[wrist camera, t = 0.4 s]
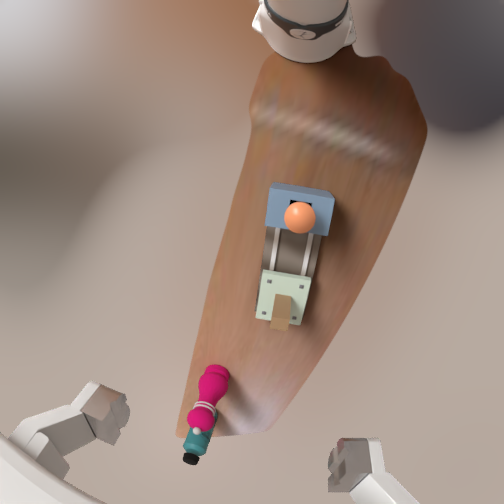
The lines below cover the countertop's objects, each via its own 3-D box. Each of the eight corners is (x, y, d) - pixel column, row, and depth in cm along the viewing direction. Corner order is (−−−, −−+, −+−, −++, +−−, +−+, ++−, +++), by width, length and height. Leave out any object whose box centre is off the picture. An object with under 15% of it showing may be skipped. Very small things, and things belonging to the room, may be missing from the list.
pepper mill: (224, 361, 66) (202, 424, 48) (235, 380, 68) (218, 442, 50) (199, 364, 68) (173, 424, 50) (211, 383, 70) (189, 442, 52)
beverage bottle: (212, 417, 76) (194, 470, 58) (194, 407, 75) (173, 459, 57) (223, 410, 74) (207, 465, 55) (205, 399, 73) (184, 454, 54)
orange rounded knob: (287, 194, 44) (286, 200, 39) (315, 199, 43) (318, 205, 39) (283, 221, 45) (282, 230, 41) (310, 226, 45) (312, 235, 40)
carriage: (263, 269, 54) (256, 293, 45) (310, 277, 53) (312, 303, 44) (256, 313, 57) (249, 342, 49) (300, 321, 56) (299, 350, 48)
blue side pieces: (273, 182, 50) (269, 187, 43) (329, 191, 49) (334, 198, 42) (269, 215, 52) (264, 227, 45) (322, 224, 51) (327, 237, 44)
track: (269, 214, 52) (268, 216, 50) (323, 223, 51) (324, 226, 49) (255, 307, 60) (254, 312, 58) (302, 315, 59) (302, 320, 57)
